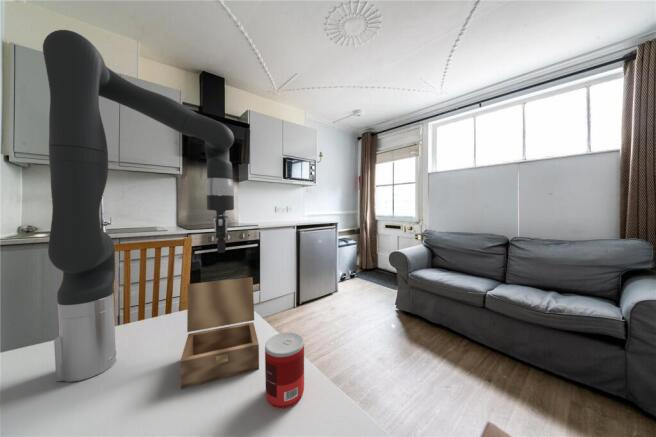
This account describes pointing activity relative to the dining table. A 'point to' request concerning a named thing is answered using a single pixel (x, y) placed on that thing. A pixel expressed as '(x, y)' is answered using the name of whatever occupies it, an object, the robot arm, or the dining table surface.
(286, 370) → the canned food
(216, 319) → the lid
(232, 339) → the box
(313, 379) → the dining table surface
